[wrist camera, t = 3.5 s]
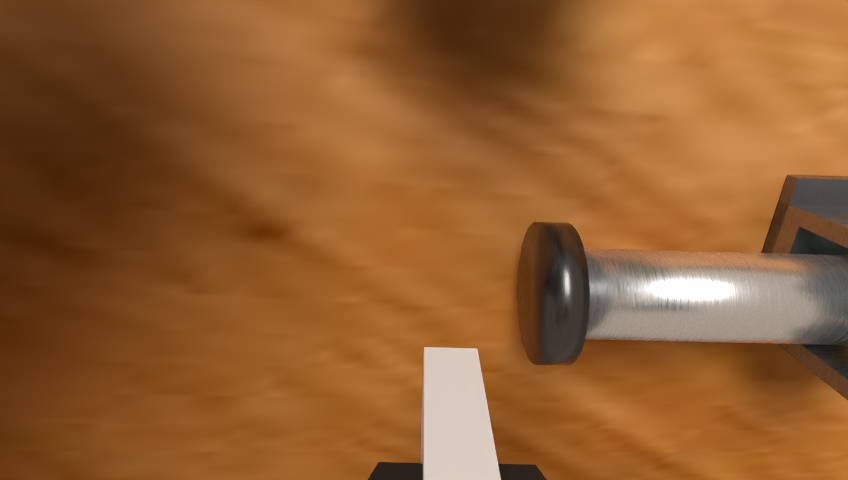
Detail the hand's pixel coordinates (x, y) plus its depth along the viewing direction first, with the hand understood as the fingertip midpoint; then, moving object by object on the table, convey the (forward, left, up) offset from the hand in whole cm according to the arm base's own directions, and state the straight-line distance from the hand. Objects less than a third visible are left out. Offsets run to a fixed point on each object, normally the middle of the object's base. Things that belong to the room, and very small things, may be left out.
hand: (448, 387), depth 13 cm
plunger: (+12, 0, -8) cm, 15 cm away
